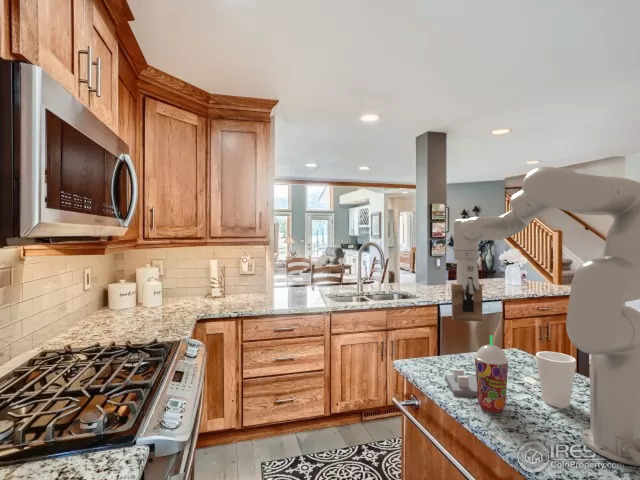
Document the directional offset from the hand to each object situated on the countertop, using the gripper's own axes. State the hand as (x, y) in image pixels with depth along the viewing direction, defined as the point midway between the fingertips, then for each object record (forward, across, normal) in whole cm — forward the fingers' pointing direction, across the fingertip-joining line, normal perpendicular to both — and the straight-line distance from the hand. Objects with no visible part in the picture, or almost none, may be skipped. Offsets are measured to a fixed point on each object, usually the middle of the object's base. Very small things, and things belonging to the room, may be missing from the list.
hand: (466, 310), depth 117 cm
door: (+3, 0, 0) cm, 3 cm away
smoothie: (+23, -20, -1) cm, 31 cm away
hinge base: (+23, -8, 0) cm, 24 cm away
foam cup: (+23, -14, -20) cm, 34 cm away
